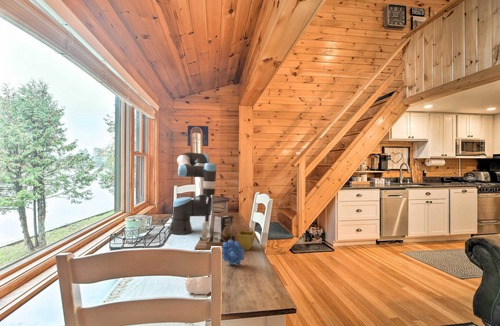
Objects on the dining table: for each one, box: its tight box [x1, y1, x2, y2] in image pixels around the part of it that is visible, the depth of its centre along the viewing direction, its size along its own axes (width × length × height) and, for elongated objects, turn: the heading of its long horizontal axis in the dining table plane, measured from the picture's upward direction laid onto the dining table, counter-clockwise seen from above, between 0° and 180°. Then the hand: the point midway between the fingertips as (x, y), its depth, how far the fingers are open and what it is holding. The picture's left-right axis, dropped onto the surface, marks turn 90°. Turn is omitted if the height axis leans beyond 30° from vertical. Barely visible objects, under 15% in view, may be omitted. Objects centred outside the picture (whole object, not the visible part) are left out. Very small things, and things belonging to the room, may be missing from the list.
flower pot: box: [236, 230, 256, 251], centre depth 141 cm, size 9×9×9 cm
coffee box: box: [213, 214, 234, 243], centre depth 141 cm, size 9×6×16 cm
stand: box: [194, 233, 238, 251], centre depth 141 cm, size 16×22×5 cm
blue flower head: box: [221, 239, 246, 266], centre depth 115 cm, size 12×7×12 cm, turn 95°
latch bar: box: [201, 222, 208, 240], centre depth 146 cm, size 10×2×2 cm
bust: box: [185, 277, 210, 296], centre depth 91 cm, size 12×8×11 cm
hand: (206, 226), depth 152 cm, fingers closed
